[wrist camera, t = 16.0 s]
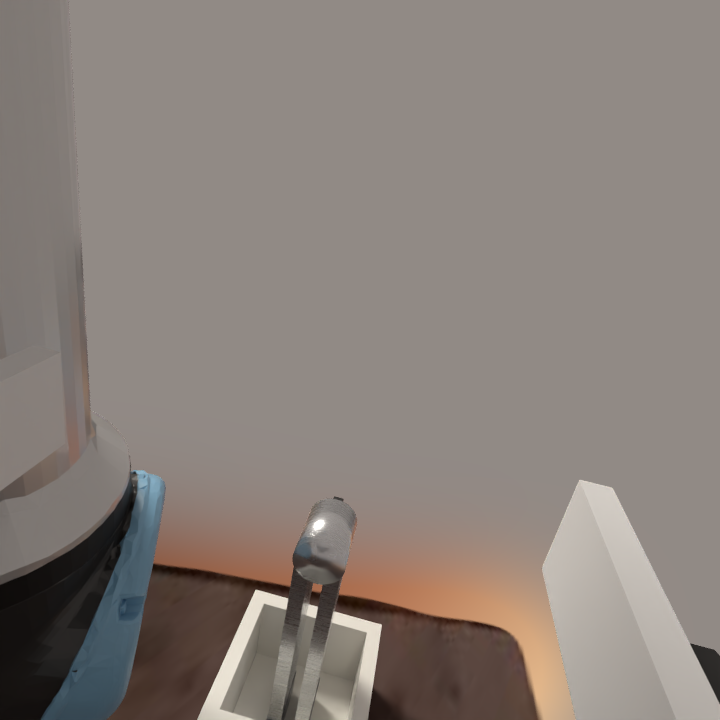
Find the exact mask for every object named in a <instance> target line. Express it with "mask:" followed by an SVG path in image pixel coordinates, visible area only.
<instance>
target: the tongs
mask: <svg viewBox="0 0 720 720" xmlns="http://www.w3.org/2000/svg"><path fill="white" fill-rule="evenodd" d="M356 526H357V517H356V514H355V512H354V511H353V510H352V508H351V507H350V506H349V505H348V504H346V503H344V502H343V499H342V498H338V497H334V499H323V500H320V501H318V502H317V503H316V504H315V505H314V506H313V507H312V508H311V511H310V513H309V516H308V518H307V521H306V523H305V526H304V528H303V531H302V533H301V536H300V538H299V541H298V543H297V546H296V548H295V551H294V554H293V565H294V569H293V575H292V581H291V586H290V592H289V598H288V603H287V609H286V615H285V621H284V626H283V632H282V638H281V644H280V649H279V655H278V661H277V666H276V672H275V678H274V684H273V689H272V695H271V701H270V707H269V712H268V716H267V719H266V720H284V719H285V715H286V712H287V708H288V705H289V702H290V698H291V695H292V691H293V686H294V681H295V676H296V667H297V662H298V657H299V652H300V647H301V642H302V637H303V632H304V626H305V621H306V616H307V611H308V606H309V601H310V596H311V591H312V586H313V583H316V584H322V585H323V586H322V591H321V596H320V600H319V605H318V610H317V615H316V620H315V624H314V629H313V634H312V639H311V644H310V648H309V653H308V658H307V663H306V668H305V672H304V677H303V682H302V687H301V692H300V696H299V701H298V706H297V711H296V715H295V719H294V720H310V719H311V715H312V711H313V707H314V703H315V699H316V694H317V690H318V685H319V681H320V673H321V669H322V664H323V660H324V656H325V651H326V647H327V642H328V638H329V634H330V629H331V625H332V620H333V616H334V612H335V607H336V603H337V598H338V594H339V590H340V585H341V580H342V576H343V574H344V572H345V568H346V565H347V561H348V557H349V553H350V549H351V545H352V541H353V537H354V534H355V530H356Z"/></svg>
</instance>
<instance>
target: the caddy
mask: <svg viewBox="0 0 720 720" xmlns="http://www.w3.org/2000/svg"><path fill="white" fill-rule="evenodd" d="M287 603H288V599H287V598H284V597H280V596H277V595H273V594H270V593H266V592H262V591H259V590H255V593H254V595H253V597H252V599H251V602H250V604H249V606H248V608H247V610H246V613H245V615H244V617H243V619H242V622H241V624H240V626H239V628H238V630H237V633H236V635H235V637H234V639H233V641H232V644H231V646H230V648H229V650H228V653H227V655H226V657H225V659H224V661H223V664H222V666H221V668H220V670H219V673H218V675H217V677H216V679H215V681H214V684H213V686H212V688H211V690H210V692H209V695H208V697H207V699H206V701H205V704H204V706H203V708H202V710H201V712H200V715H199V717H198V719H197V720H266V719H267V716H268V712H269V707H270V701H271V695H272V689H273V684H274V678H275V672H276V666H277V661H278V655H279V649H280V644H281V638H282V632H283V626H284V621H285V615H286V609H287ZM317 610H318V607H316V606H312V605H309V606H308V611H307V616H306V621H305V626H304V632H303V637H302V642H301V647H300V652H299V657H298V662H297V667H296V676H295V681H294V686H293V691H292V695H291V698H290V702H289V705H288V708H287V712H286V715H285V719H284V720H294V719H295V715H296V711H297V706H298V701H299V696H300V692H301V687H302V682H303V677H304V672H305V668H306V663H307V658H308V653H309V648H310V644H311V639H312V634H313V629H314V624H315V620H316V615H317ZM381 627H382V625H381V624H377V623H373V622H370V621H366V620H363V619H359V618H355V617H352V616H348V615H345V614H341V613H338V612H334V616H333V620H332V625H331V629H330V634H329V638H328V642H327V647H326V651H325V656H324V660H323V664H322V669H321V673H320V681H319V685H318V690H317V694H316V699H315V703H314V707H313V711H312V715H311V719H310V720H368V715H369V708H370V701H371V695H372V688H373V681H374V674H375V667H376V661H377V654H378V647H379V640H380V633H381Z"/></svg>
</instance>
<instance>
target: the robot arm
mask: <svg viewBox="0 0 720 720" xmlns="http://www.w3.org/2000/svg"><path fill="white" fill-rule="evenodd" d="M71 58H72V56H71V38H70V21H69V2H68V0H0V720H106V719H107V718H108V717H110V716H111V715H112V714H113V713H114V712H115V710H116V709H117V708H118V707H119V705H120V704H121V702H122V700H123V698H124V696H125V694H126V690H127V687H128V683H129V680H130V675H131V671H132V667H133V662H134V657H135V652H136V647H137V642H138V637H139V632H140V626H141V621H142V615H143V610H144V602H145V599H146V595H147V589H148V584H149V580H150V576H151V571H152V566H153V561H154V555H155V550H156V544H157V539H158V532H159V527H160V522H161V516H162V510H163V504H164V498H165V490H166V487H165V482H164V481H163V480H162V478H160V477H159V476H157V475H153V474H147V473H146V472H145V471H143V470H140V471H138V470H134V471H131V463H130V456H129V451H128V446H127V443H126V441H125V439H124V438H123V436H122V434H121V433H120V432H119V431H118V429H117V428H116V427H115V426H114V425H113V424H111V423H110V422H109V421H108V420H106V419H105V418H104V417H102V416H100V415H99V414H97V413H95V412H93V411H91V410H90V392H89V373H88V354H87V336H86V318H85V300H84V281H83V263H82V243H81V224H80V206H79V188H78V169H77V151H76V132H75V113H74V95H73V76H72V59H71ZM542 571H543V575H544V580H545V584H546V589H547V593H548V598H549V602H550V607H551V611H552V615H553V620H554V624H555V629H556V633H557V638H558V642H559V646H560V651H561V656H562V660H563V665H564V669H565V673H566V678H567V683H568V687H569V691H570V696H571V700H572V705H573V709H574V713H575V718H576V720H720V656H719V654H718V653H717V652H716V651H715V650H713V649H708V648H705V647H701V646H698V645H694V644H690V643H689V641H688V639H687V637H686V635H685V633H684V631H683V629H682V627H681V625H680V623H679V621H678V619H677V617H676V615H675V613H674V611H673V609H672V607H671V605H670V603H669V601H668V599H667V597H666V595H665V593H664V590H663V588H662V586H661V585H660V582H659V580H658V578H657V576H656V574H655V572H654V570H653V568H652V566H651V564H650V562H649V560H648V558H647V556H646V554H645V552H644V550H643V548H642V546H641V544H640V542H639V540H638V538H637V536H636V534H635V532H634V530H633V528H632V526H631V524H630V522H629V520H628V518H627V516H626V514H625V512H624V510H623V508H622V506H621V504H620V502H619V500H618V498H617V496H616V494H615V492H614V489H613V488H611V487H607V486H603V485H599V484H595V483H591V482H587V481H583V480H579V482H578V484H577V487H576V489H575V492H574V494H573V496H572V499H571V501H570V503H569V505H568V508H567V510H566V512H565V515H564V517H563V520H562V522H561V524H560V527H559V529H558V531H557V534H556V536H555V538H554V541H553V543H552V545H551V548H550V550H549V552H548V555H547V557H546V559H545V562H544V564H543V567H542Z"/></svg>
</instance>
